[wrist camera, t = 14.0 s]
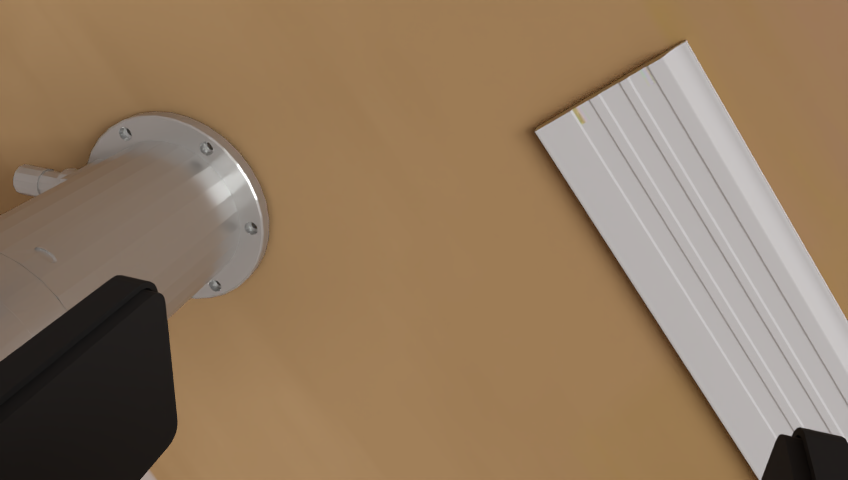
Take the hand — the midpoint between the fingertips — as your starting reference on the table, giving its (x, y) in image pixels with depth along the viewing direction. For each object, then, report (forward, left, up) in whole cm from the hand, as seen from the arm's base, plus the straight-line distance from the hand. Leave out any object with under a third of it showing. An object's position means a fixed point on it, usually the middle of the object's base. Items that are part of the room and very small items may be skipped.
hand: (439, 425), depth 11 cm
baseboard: (+11, -13, -31) cm, 36 cm away
